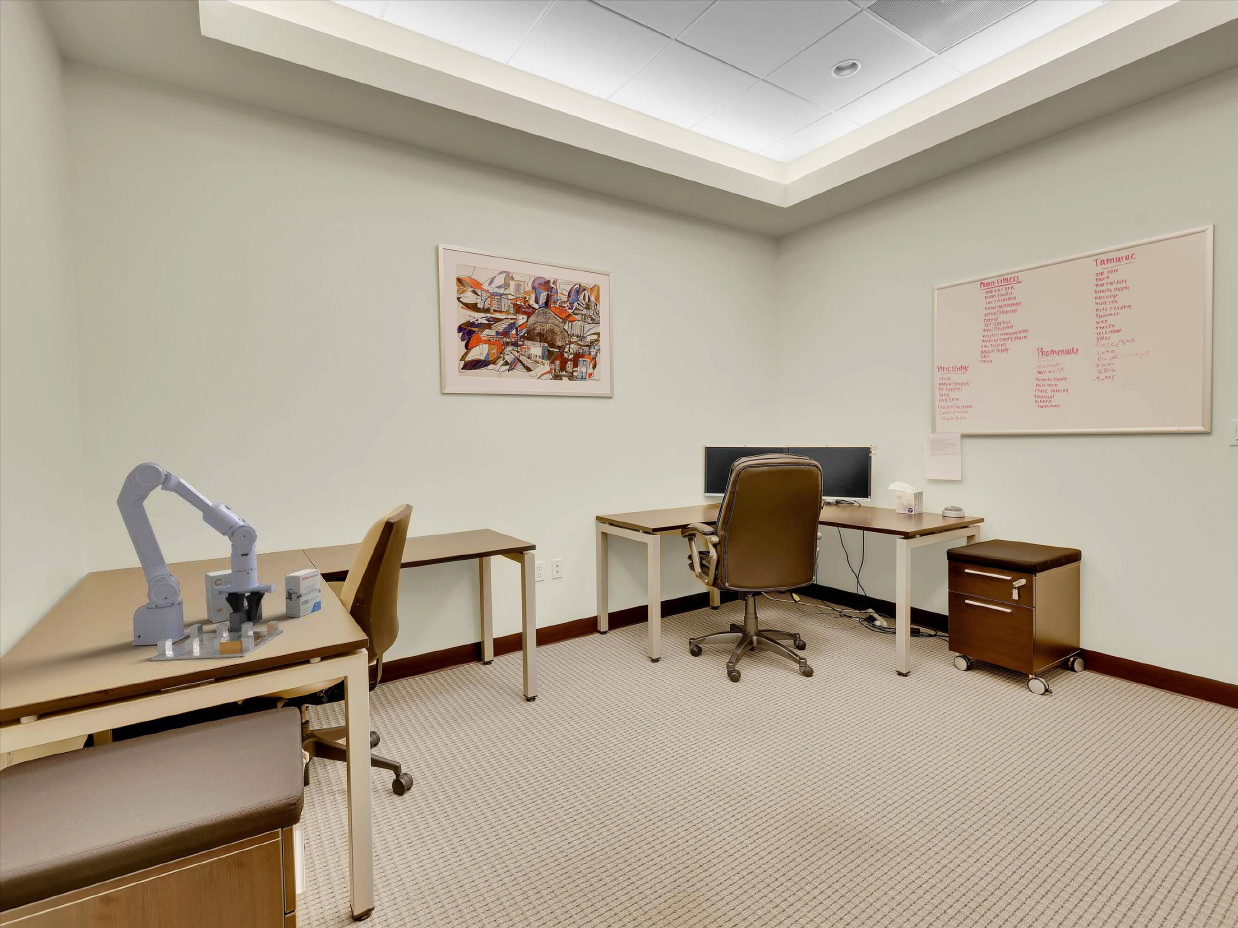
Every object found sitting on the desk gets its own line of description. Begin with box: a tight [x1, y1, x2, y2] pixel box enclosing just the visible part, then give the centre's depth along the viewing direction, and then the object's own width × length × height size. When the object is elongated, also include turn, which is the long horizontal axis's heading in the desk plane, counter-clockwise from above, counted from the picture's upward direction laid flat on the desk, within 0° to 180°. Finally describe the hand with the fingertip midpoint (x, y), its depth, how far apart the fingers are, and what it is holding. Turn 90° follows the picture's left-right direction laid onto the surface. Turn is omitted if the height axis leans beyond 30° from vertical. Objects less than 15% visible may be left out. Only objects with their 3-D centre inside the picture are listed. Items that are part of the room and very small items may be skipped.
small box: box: [204, 568, 247, 624], centre depth 163 cm, size 8×6×13 cm
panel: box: [228, 601, 263, 632], centre depth 156 cm, size 2×11×5 cm, turn 5°
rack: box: [151, 620, 284, 662], centre depth 140 cm, size 20×17×4 cm
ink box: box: [284, 568, 322, 618], centre depth 167 cm, size 9×5×12 cm, turn 168°
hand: (246, 620), depth 156 cm, fingers closed on panel, 3 cm apart
